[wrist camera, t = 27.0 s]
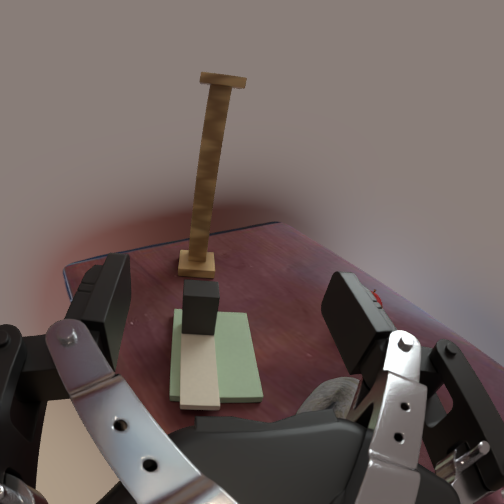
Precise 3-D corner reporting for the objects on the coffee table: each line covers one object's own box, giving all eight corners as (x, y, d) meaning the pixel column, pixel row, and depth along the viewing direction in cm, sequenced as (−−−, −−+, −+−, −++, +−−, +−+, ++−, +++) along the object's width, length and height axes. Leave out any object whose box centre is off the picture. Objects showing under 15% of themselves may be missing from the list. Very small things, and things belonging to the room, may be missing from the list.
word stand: (177, 275, 48) (201, 71, 33) (179, 256, 53) (202, 74, 38) (214, 278, 49) (246, 77, 34) (212, 259, 54) (241, 79, 39)
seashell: (321, 481, 22) (342, 465, 20) (264, 431, 27) (276, 408, 24) (379, 416, 30) (400, 393, 27) (331, 378, 35) (346, 353, 32)
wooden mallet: (180, 409, 26) (179, 369, 23) (181, 322, 37) (184, 279, 34) (219, 410, 27) (227, 371, 24) (212, 324, 38) (218, 281, 35)
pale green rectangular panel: (169, 401, 28) (169, 395, 27) (174, 315, 40) (174, 308, 39) (261, 402, 30) (263, 396, 30) (244, 319, 42) (246, 312, 41)
